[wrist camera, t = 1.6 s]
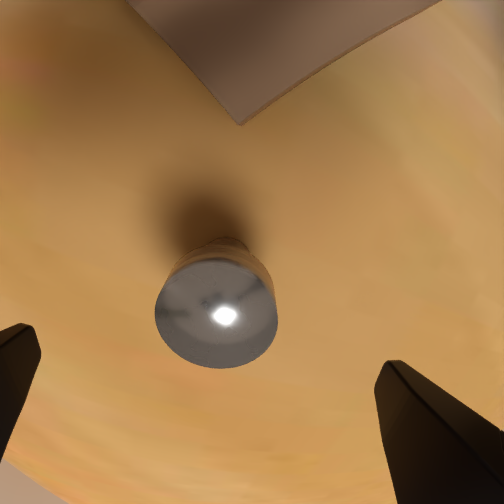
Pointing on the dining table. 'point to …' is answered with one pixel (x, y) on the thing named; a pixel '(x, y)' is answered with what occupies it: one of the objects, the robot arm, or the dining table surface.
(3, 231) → the dining table surface
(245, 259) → the steel pin
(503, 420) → the dining table surface
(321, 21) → the walnut beam
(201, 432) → the dining table surface
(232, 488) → the dining table surface
